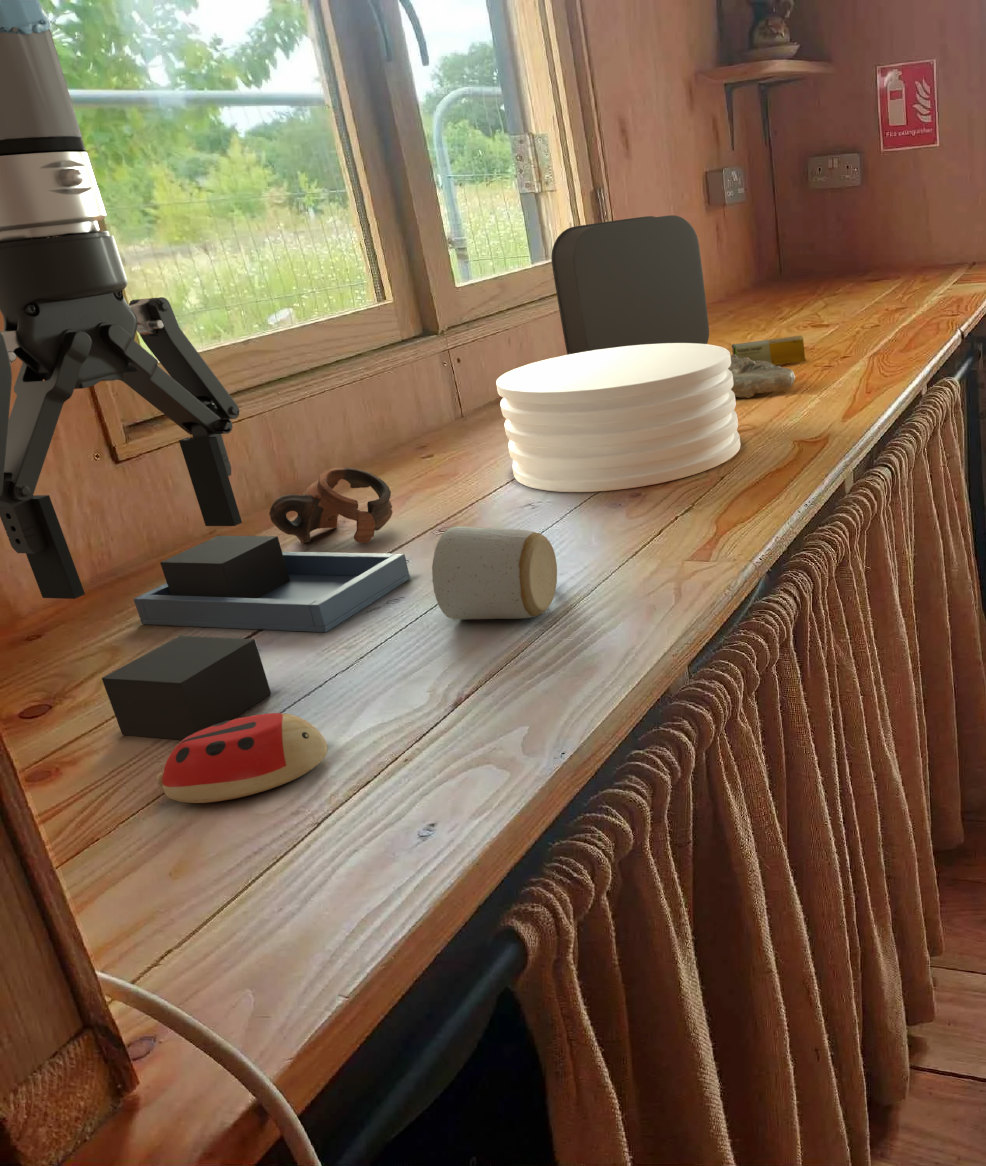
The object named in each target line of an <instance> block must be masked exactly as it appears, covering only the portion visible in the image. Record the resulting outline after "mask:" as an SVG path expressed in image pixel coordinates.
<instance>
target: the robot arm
mask: <svg viewBox="0 0 986 1166" xmlns="http://www.w3.org/2000/svg"><path fill="white" fill-rule="evenodd" d="M50 28H51V23H50V19H49V17H48V16H46V14H45V13H44V11H43V8H42V6H41V3H40V1H39V0H0V313H1V315H2V318H3V319H2V320H3V330H1V331H0V521H1V523H2V525H3V528H4V531H5V533H6V536H7V538H8V541H9V544H10V547H11V548H12V549H13V550H14V551H15V552H16V554H25V555H26V558H27V561H28V564H29V566H30V568H31V572H32V574H33V576H34V579H35V582H36V585H37V587H38V589H39V592H40V594H41V597H42V599H64V600H65V599H67V600H69V599H70V600H76V599H78V598H80V597H82V596H84V595H86V593H85V590H84V587H83V583H82V582H81V578H80V576H79V574H78V570H77V568H76V565H75V563H74V560H73V556H72V554H71V552H70V549H69V546H68V543H67V540H66V538H65V535H64V532H63V529H62V526H61V524H60V521H59V518H58V516H57V513H56V510H55V508H54V505H53V502H52V500H51V499H52V498H51V497H50V495H49V494H43V495H42V494H41V495H40V494H35V491H36V487H37V484H38V482H39V480H40V479H39V478H40V477H41V472H42V469H43V466H44V464H45V461H46V458H47V455H48V452H49V448H50V445H51V443H52V439H53V436H54V434H55V430H56V428H57V425H58V422H59V418H60V415H61V412H62V409H63V406H64V404H65V402H67V401H68V400H69V399H70V398H72V396H73V393H74V392H75V390H80V389H86V388H90V387H91V388H92V387H94V386H96V385H97V384H98V383H100V382H110V381H117V380H118V381H121V382H123V383H124V384H125V385H127V386H128V387H129V388H130V389H131V390H133V391H134V392H135V393H136V394H138V395H139V396H140V397H141V398H144V400H145V401H147V403H149V404H150V405H152V406H153V407H154V408H155V409H157V410H158V411H159V412H160V413H162V414H163V415H164V416H165V417H166V418H168V419H169V420H171V421H172V422H173V423H174V424H176V425H177V426H178V427H179V428H181V429H182V430H183V431H184V432H186V433H187V434H189V435H191V436H192V437H184V438H181V439H179V440H178V442H179V446H180V450H181V452H182V455H183V459H184V461H185V465H186V468H187V470H188V474H189V478H190V480H191V484H192V487H193V490H194V493H195V497H196V500H197V503H198V507H199V509H200V513H201V516H202V519H203V522H204V526H205V527H236V526H237V525H240V524H243V521H242V518H241V513H240V511H239V508H238V505H237V501H236V498H235V497H236V496H235V494H234V491H233V487H232V485H231V480H230V478H229V477H230V476H232V465H231V462H230V459H229V455H228V452H227V447H226V445H225V442H224V438H223V435H225V434H226V435H228V434H229V433H231V432H232V431H233V422H232V420H236V419H237V418H239V416H240V412H241V411H240V407H239V405H238V403H237V402H236V401H235V400H234V399H233V397H232V396H231V394H230V393H229V392H228V391H227V389H226V388H225V387H224V385H223V383H221V381H220V379H218V377H217V376H216V375H215V373H214V372H213V370H212V369H211V368H210V367H209V365H208V364H207V363H206V361H205V360H204V358H203V356H201V354H200V353H199V352H198V351H197V349H196V348H195V346H194V345H193V343H192V342H191V341H190V340H189V338H188V337H187V336H186V334H185V333H184V332H183V331H182V329H181V328H180V326H179V323H178V320H177V317H176V316H175V315H176V314H175V312H174V310H173V308H172V305H171V303H170V301H169V299H167V298H166V297H163V296H162V297H161V296H159V297H149V298H137V299H131V300H130V302H129V303H128V302H127V301H126V299H125V296H124V294H123V291H124V290H125V289H126V288H127V286H128V277H127V275H126V272H125V269H124V264H123V261H122V259H121V255H120V253H119V249H118V246H117V242H116V239H115V236H114V235H110V232H109V231H108V230H102V231H101V230H100V227H99V223H98V222H100V221H104V220H105V218H106V217H107V213H106V210H105V205H104V203H103V200H102V197H101V193H100V189H99V187H98V185H97V181H96V178H95V174H94V172H93V171H94V170H93V168H92V165H91V162H90V158H89V155H88V152H87V151H86V147H85V144H84V141H83V136H82V132H81V128H80V125H79V122H78V119H77V115H76V112H75V109H74V106H73V101H72V99H71V95H70V92H69V88H68V86H67V82H66V79H65V75H64V72H63V69H62V65H61V62H60V59H59V55H58V51H57V48H56V45H55V42H54V38H53V34H52V32H51V29H50ZM137 333H138V334H139V336H140V338H141V339H142V341H143V342H144V344H145V346H147V348H148V349H149V350H150V352H151V353H152V354H151V353H150V352H148V350H146V349H145V348H144V347H143V346H141V345H140V344H139V343H138V342H137V341H136V340H135V338H136V335H137ZM17 358H18V359H19V360H20V361H21V366H20V369H19V372H18V374H17V377H16V380H15V383H14V386H13V385H12V383H13V382H12V381H13V380H12V379H13V373H12V366H11V365H12V363H13V362H15V361H16V360H17ZM159 363H160V364H161V366H162V367H163V368H164V369H162V367H161V366H159V365H158V364H159ZM12 386H13V392H14V393H15V394H16V397H15V400H14V403H13V406H12V407H11V395H12ZM10 407H11V408H12V409H11V408H10ZM10 409H11V412H10Z"/></svg>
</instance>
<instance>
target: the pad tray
mask: <svg viewBox="0 0 986 1166" xmlns="http://www.w3.org/2000/svg"><path fill="white" fill-rule="evenodd" d="M282 553H283V557H284V560H285V564H286V568H287V571H288V575H289V578H290V581H289V582H287V583H285V584H284V585H282V586H280V587H278V588H276V589H275V590H273V591H271V592H269V593H267V594H266V595H264V596H262V597H260V598H232V597H203V596H173V595H171V594H170V591H169V588H168V585H167V582H165V583H163V584H161V585H159V586H156V587H155V588H152V589H151V590H148V591H147V592H145V593H142V594H140V595H138V596H136V597H133V602H134V605H135V607H136V610H137V614H138V616H139V620H140V623H141V625H149V626H150V625H153V626H154V625H155V626H175V627H177V626H178V627H196V628H199V627H200V628H217V629H219V628H221V629H239V630H240V629H241V630H242V629H243V630H262V631H263V630H264V631H265V630H266V631H287V632H288V631H290V632H307V633H308V632H309V633H310V632H311V633H328V632H329V631H331V630H332V629H334V628H335V627H337V626H338V625H339V624H341V623H343V622H345V621H347V619H349V618H351V617H352V616H354V615H355V614H357V613H359V612H360V611H362V610H363V609H365V608H366V607H369V605H371V604H373V603H374V602H376V601H378V600H379V599H380V598H382V597H384V596H385V595H387V594H388V593H389V592H392V591H393V590H395V589H396V588H398V587H400V586H401V585H402V584H405V583H406V582H407V581H409V580H410V579H411V575H410V572H409V567H408V563H407V560H406V559H407V558H406V555H405V553H381V552H330V551H329V552H327V551H326V552H325V551H324V552H323V551H322V552H320V551H282Z"/></svg>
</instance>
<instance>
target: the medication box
mask: <svg viewBox="0 0 986 1166" xmlns="http://www.w3.org/2000/svg"><path fill="white" fill-rule="evenodd" d="M804 343H805V342H804V337H803V336H802V335H794V336H793V335H792V336H786V337H779V338H771V339H764V340H763V339H762V340H756V341H747V342H741V343H732V344H731V353H732V355H734V354H736V355H737V357H738V358H740V359H741V358H744V357H745V358H746V357H748V358H749V359H750V360H752V361H754V362H755V361H767V362H768V363H771V364H773V365H775V366H780V365H786V364H794V363H801V362H802V363H803V362H806V361H807V359H806V353H805V344H804Z"/></svg>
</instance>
